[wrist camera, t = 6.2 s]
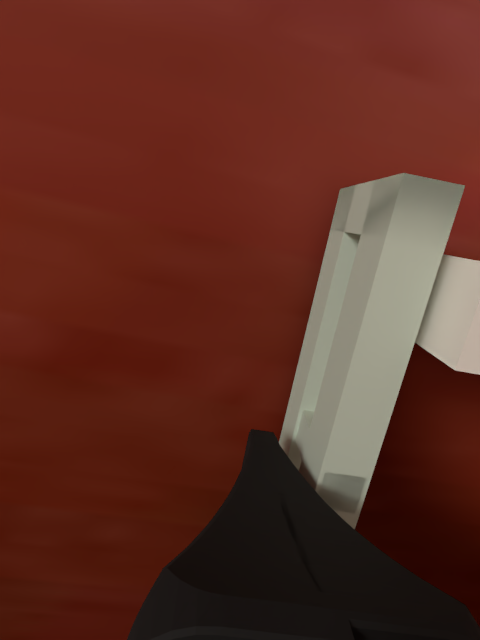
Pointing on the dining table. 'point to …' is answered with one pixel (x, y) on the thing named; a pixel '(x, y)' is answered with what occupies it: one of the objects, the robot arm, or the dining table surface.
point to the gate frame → (454, 315)
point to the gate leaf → (364, 330)
